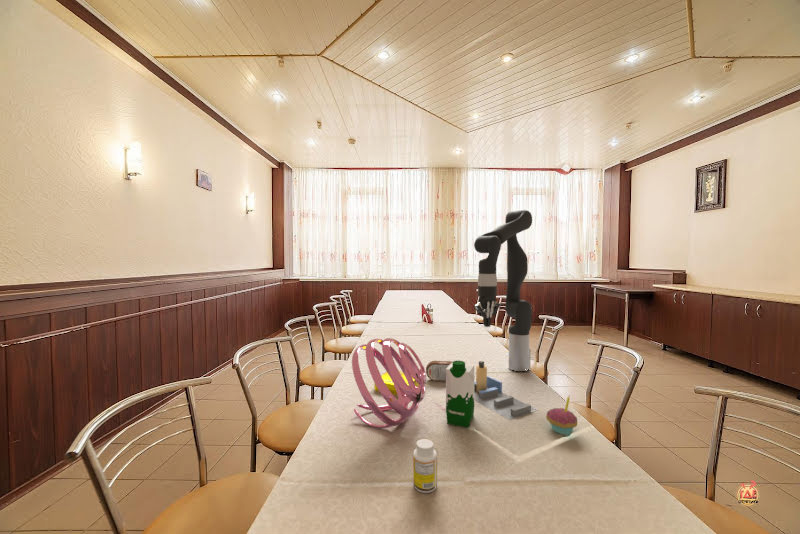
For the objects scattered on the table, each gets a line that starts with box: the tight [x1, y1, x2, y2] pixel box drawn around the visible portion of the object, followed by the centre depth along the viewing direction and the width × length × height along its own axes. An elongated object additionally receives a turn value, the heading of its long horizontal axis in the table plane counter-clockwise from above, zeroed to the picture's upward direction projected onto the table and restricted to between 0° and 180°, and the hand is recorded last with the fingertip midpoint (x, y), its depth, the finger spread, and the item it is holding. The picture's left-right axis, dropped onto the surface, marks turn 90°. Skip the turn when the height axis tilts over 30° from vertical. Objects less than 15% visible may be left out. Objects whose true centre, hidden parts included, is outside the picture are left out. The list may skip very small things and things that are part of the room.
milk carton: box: [445, 360, 476, 429], centre depth 108 cm, size 9×9×20 cm
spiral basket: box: [351, 337, 427, 429], centre depth 109 cm, size 28×28×27 cm
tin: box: [425, 360, 453, 382], centre depth 143 cm, size 15×3×8 cm, turn 84°
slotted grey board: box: [474, 375, 539, 421], centre depth 121 cm, size 14×26×5 cm, turn 29°
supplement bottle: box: [412, 438, 438, 494], centre depth 77 cm, size 6×6×10 cm
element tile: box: [373, 370, 419, 396], centre depth 136 cm, size 15×15×5 cm
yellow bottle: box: [475, 360, 488, 394], centre depth 128 cm, size 4×4×12 cm
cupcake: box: [545, 394, 578, 438], centre depth 100 cm, size 9×8×12 cm
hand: (487, 326), depth 136 cm, fingers closed
